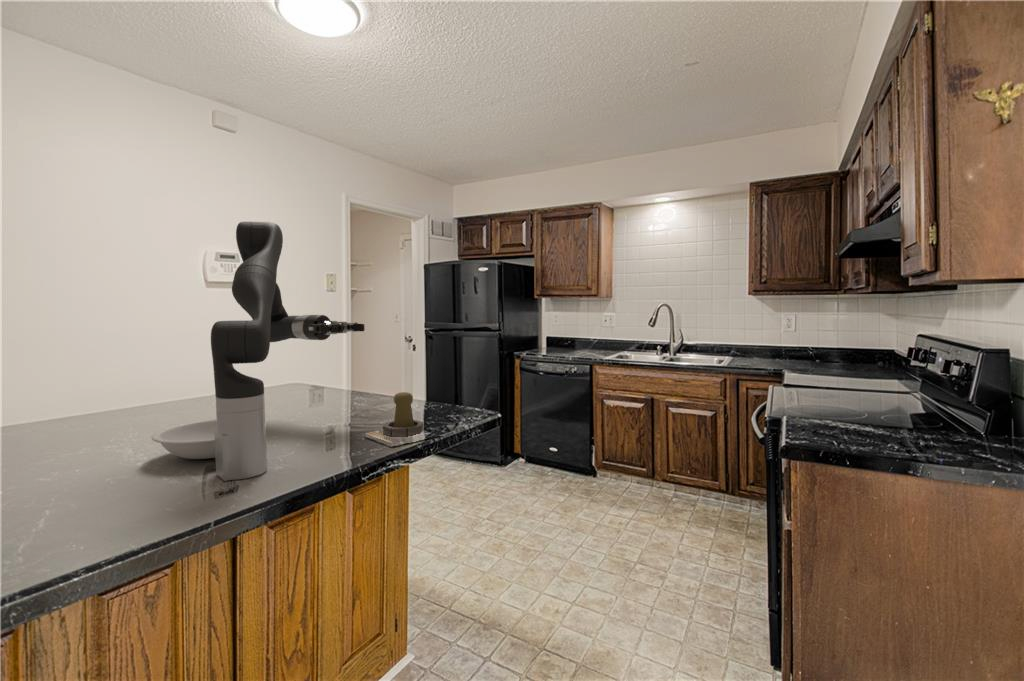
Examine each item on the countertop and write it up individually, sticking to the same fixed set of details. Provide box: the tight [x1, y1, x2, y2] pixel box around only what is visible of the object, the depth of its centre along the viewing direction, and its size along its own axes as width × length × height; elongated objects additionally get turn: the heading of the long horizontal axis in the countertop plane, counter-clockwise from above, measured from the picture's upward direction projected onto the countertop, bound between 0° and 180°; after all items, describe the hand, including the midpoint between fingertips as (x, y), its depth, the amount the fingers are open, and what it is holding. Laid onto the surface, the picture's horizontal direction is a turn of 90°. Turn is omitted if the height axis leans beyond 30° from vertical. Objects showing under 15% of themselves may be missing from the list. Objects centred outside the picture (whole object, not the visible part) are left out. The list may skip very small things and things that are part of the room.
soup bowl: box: [151, 418, 268, 460], centre depth 121 cm, size 24×24×7 cm
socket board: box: [364, 419, 424, 443], centre depth 137 cm, size 16×14×4 cm
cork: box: [393, 391, 414, 428], centre depth 138 cm, size 6×6×11 cm
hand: (353, 328), depth 141 cm, fingers open, 8 cm apart
